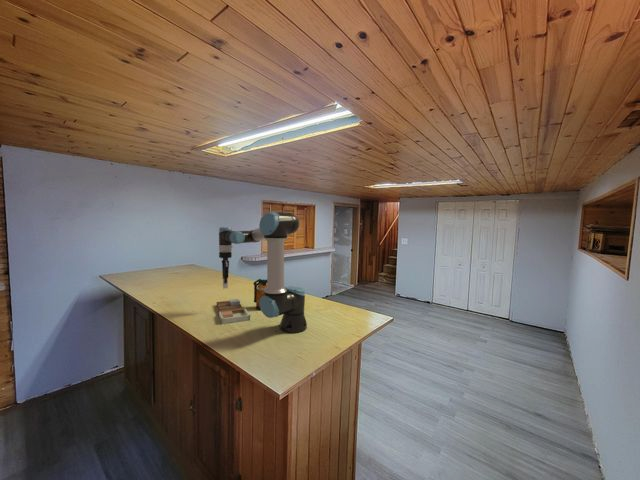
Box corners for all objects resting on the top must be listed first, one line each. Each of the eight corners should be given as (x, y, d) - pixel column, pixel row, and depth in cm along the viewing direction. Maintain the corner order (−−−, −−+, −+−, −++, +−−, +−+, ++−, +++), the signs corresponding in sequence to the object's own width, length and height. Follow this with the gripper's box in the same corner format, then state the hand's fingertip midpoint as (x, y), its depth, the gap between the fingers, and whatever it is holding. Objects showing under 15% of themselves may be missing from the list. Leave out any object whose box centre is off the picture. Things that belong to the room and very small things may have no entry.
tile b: (240, 304, 180) (240, 301, 180) (230, 306, 177) (230, 302, 177) (238, 302, 185) (238, 298, 185) (229, 303, 182) (229, 299, 182)
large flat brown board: (243, 313, 171) (243, 309, 171) (220, 316, 165) (220, 312, 165) (237, 303, 191) (237, 299, 191) (216, 305, 184) (216, 302, 184)
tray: (250, 320, 160) (250, 315, 160) (221, 324, 153) (221, 319, 153) (245, 313, 172) (245, 308, 172) (218, 316, 164) (219, 311, 164)
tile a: (233, 318, 162) (233, 314, 161) (222, 319, 159) (222, 315, 159) (231, 314, 167) (231, 310, 167) (221, 316, 164) (221, 312, 164)
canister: (268, 310, 178) (268, 281, 177) (251, 309, 178) (251, 280, 177) (270, 306, 187) (271, 278, 185) (255, 305, 187) (255, 277, 186)
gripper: (233, 252, 166) (233, 289, 167) (229, 250, 177) (229, 285, 179) (220, 252, 162) (220, 291, 164) (217, 250, 174) (217, 286, 175)
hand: (225, 288), depth 171 cm, fingers closed
